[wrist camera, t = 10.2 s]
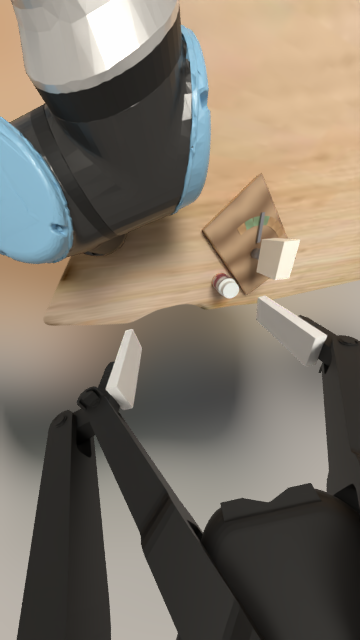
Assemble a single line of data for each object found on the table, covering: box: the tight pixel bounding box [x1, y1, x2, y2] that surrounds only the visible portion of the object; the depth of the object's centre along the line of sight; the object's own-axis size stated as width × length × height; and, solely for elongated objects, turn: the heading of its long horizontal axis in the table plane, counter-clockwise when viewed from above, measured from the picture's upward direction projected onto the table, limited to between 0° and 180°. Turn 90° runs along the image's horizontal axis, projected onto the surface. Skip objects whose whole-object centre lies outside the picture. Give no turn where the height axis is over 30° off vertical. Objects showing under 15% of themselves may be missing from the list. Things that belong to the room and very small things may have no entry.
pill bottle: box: [212, 273, 239, 298], centre depth 40 cm, size 5×5×8 cm
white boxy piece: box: [251, 212, 300, 280], centre depth 32 cm, size 3×12×11 cm, turn 5°
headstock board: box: [202, 173, 296, 295], centre depth 38 cm, size 22×15×2 cm
